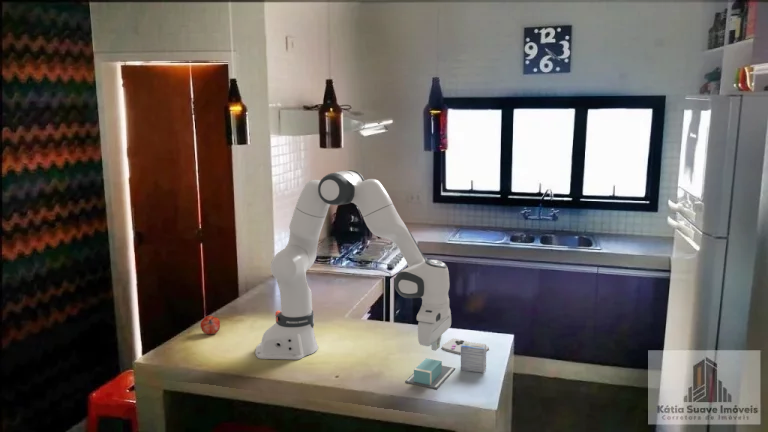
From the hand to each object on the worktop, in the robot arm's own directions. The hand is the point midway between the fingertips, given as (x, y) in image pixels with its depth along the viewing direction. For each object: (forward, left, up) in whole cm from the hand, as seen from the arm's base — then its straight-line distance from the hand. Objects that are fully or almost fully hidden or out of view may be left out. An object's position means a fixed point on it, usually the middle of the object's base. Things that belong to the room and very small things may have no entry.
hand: (435, 348), depth 202 cm
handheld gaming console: (+14, +16, -8) cm, 23 cm away
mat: (-2, -4, -8) cm, 9 cm away
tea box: (-1, -1, -5) cm, 5 cm away
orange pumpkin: (-81, +45, -8) cm, 93 cm away
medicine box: (+13, -1, -8) cm, 15 cm away
